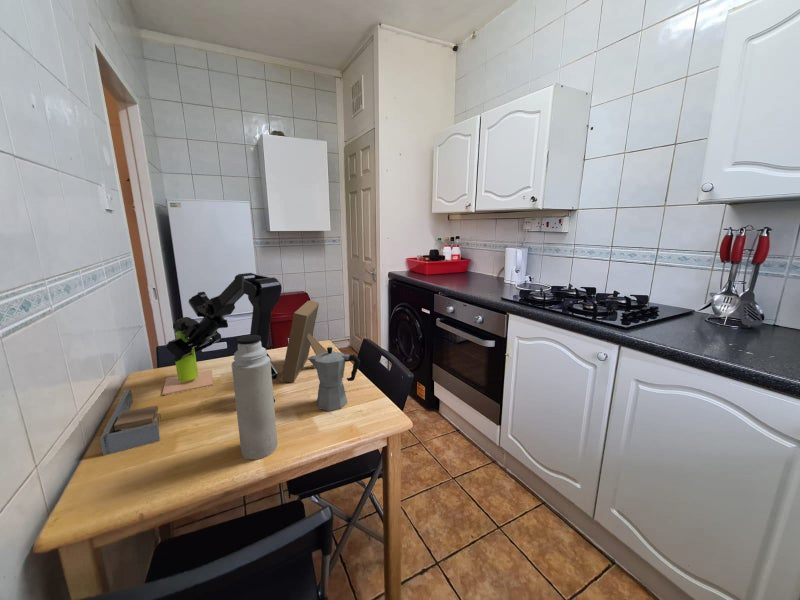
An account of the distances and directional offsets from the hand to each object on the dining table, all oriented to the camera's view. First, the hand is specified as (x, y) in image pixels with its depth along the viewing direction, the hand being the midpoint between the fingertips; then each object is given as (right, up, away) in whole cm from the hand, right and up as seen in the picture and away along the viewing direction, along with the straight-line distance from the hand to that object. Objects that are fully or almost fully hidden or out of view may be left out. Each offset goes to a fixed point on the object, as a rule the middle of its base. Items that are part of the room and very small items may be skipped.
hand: (182, 357), depth 110 cm
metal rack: (+3, -14, -21) cm, 25 cm away
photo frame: (+40, -7, +12) cm, 43 cm away
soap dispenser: (+1, -8, +1) cm, 8 cm away
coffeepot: (+55, -12, -12) cm, 58 cm away
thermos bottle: (+41, -16, -33) cm, 55 cm away
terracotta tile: (+1, -9, +2) cm, 9 cm away
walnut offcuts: (+6, -14, -25) cm, 30 cm away
